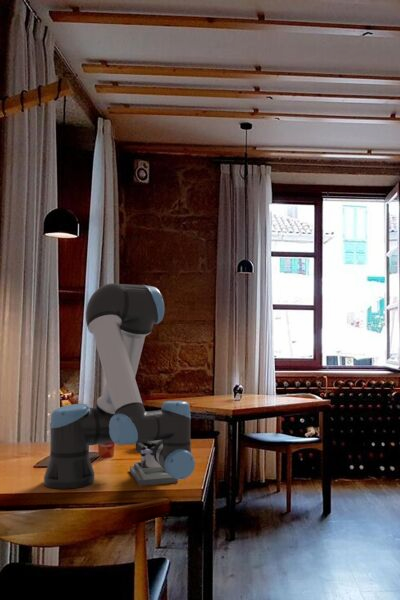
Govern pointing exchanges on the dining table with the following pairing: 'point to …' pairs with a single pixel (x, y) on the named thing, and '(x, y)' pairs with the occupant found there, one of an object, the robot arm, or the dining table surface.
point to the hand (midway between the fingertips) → (152, 440)
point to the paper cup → (106, 450)
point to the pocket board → (150, 475)
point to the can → (152, 459)
